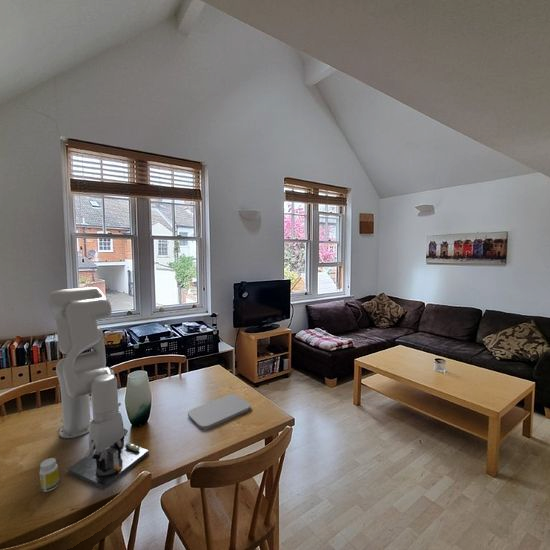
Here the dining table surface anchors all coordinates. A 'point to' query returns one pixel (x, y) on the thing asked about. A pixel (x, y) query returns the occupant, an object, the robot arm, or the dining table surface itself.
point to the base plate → (129, 456)
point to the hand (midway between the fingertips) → (109, 462)
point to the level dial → (110, 462)
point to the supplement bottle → (49, 475)
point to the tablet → (218, 411)
